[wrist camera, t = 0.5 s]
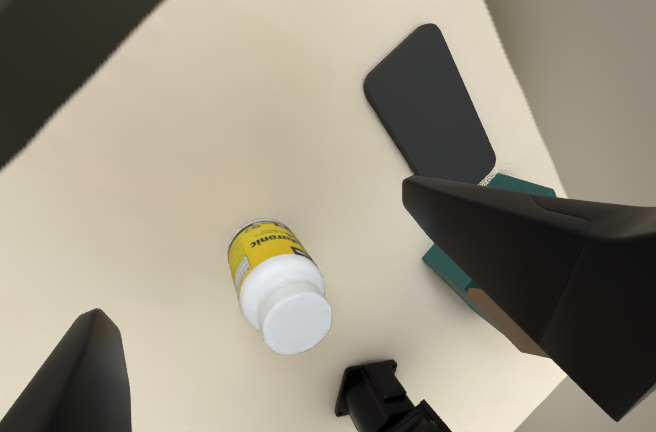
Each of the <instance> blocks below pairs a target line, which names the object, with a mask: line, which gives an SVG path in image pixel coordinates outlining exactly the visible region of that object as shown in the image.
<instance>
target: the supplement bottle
mask: <svg viewBox="0 0 656 432" xmlns="http://www.w3.org/2000/svg"><path fill="white" fill-rule="evenodd" d="M228 263H229V266H230V270H231V274H232V278H233V281H234V285H235V289H236V292H237V296H238V300H239V304H240V308H241V310H242V313H243V315H244V317H245V319H246V321H247V322H248V323H249V324H250V325H251V326H252V327H253V328H255V329H256V330H258V331H260V332H261V333H262V336H263V339H264V341H265V343H266V344H267V346H268V347H269V348H270V349H271V350H273V351H274V352H277V353H279V354H284V355H293V354H298V353H302V352H304V351H307V350H309V349H311V348H312V347H314V346H315V345H317V344H318V343H319V342H320V341H321V340H322V339H323V338H324V337H325V335H326V334H327V332H328V330H329V328H330V326H331V323H332V309H331V306H330V304H329V303H328V301H327V300H326V298H325V281H324V278H323V275H322V273H321V271H320V270H319V268H318V267H317V265H316V264H315V263H314V261H313V260H312V258H311V257H310V256H309V255H308V253H307V252H306V250H305V249H304V248H303V246H302V245H301V244H300V242H299V241H298V240H297V238H296V237H295V236H294V234H293V233H292V232H291V231H290V229H289V228H288V227H286V226H285V225H284V224H282V223H280V222H278V221H276V220H272V219H259V220H254V221H251V222H249V223H247V224H245V225H244V226H242V227H241V228H240V229H239V230H238V231H237V232H236V233H235V234H234V236H233V237H232V239H231V241H230V243H229V247H228Z"/></svg>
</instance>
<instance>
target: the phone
mask: <svg viewBox="0 0 656 432" xmlns="http://www.w3.org/2000/svg"><path fill="white" fill-rule="evenodd" d="M364 90H365V94H366V96H367V98H368V99H369V101H370V103H371V104H372V106H373V107H374V109H375V111H376V112H377V114H378V115H379V117H380V119H381V120H382V122H383V123H384V125H385V126H386V128H387V130H388V131H389V133H390V134H391V136H392V137H393V139H394V141H395V142H396V144H397V145H398V147H399V148H400V150H401V152H402V153H403V155H404V156H405V158H406V160H407V161H408V163H409V164H410V166H411V167H412V169H413V171H414V172H415V174H416V175H418V176H424V177H430V178H437V179H443V180H449V181H456V182H462V183H468V184H475V185H478V184H479V183H480V182H481V181H482V180H483V179H484V178H485V177H486V176H487V175H488V174H489V173H490V172H491V171H492V169H493V168H494V166H495V163H496V156H495V153H494V151H493V148H492V146H491V144H490V142H489V139H488V137H487V135H486V133H485V130H484V128H483V126H482V123H481V121H480V119H479V117H478V114H477V112H476V110H475V108H474V105H473V103H472V101H471V98H470V96H469V94H468V92H467V89H466V87H465V85H464V83H463V80H462V78H461V76H460V73H459V71H458V69H457V67H456V64H455V62H454V60H453V58H452V55H451V53H450V51H449V48H448V46H447V44H446V42H445V39H444V37H443V35H442V33H441V31H440V29H439V28H438V27H437V26H436V25H435V24H432V23H430V24H425V25H422V26H420V27H418V28H417V29H416V30H415V31H414V32H413V33H412V34H410V35H409V36H408V37H407V38H406V39H405V40H404V41H403V42H402V43H401V44H400V45H399V46H398V47H397V48H395V49H394V50H393V51H392V52H391V53H390V54H389V55H388V56H387V57H386V58H385V59H384V60H383V61H382V62H381V63H380V64H378V65H377V66H376V67H375V68H374V69H373V70H372V71H371V72H370V73H369V74H368V76H367V78H366V80H365V83H364Z"/></svg>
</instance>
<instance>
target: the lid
mask: <svg viewBox="0 0 656 432" xmlns="http://www.w3.org/2000/svg"><path fill="white" fill-rule="evenodd" d="M467 297H468V298H469V299H470V300H471V301H472V302H473V303H474V304H475V305H476V306H477V307H478V308H479V309H480V310H481V311H482V312H483V313H484V314H485V315H486V316H487V317H488V318H489V320H490V321H491V322H492V323H493V324H494V325H495V326H496V327H497V328H498V329H499V330H500V331H501V332H502V333H503V334H504V335H505V336H506V337H507V338H508V339H509V340H510V341H511V342H512V343H513V344H514V345H515V346H516V347H517V349H518V350H519V351H520V352H523V353H528V354H533V355H537V356H542V357H546V358H550V357H549V356H548V355H547V354H546V353H545V352H544V351H543V350H542V349H541V348H540V347H539V345H537V344H536V343H535V342H534V341H533V340H532V339H531V338H530V337H529V336H528V335H527V334H526V333H525V332H524V331H523V330H522V329H521V328H520V327H519V326H518V325H517V324H516V323H515V322H514V321H513V320H512V319H511V318H510V317H509V316H508V315H507V314H506V313H505V312H504V311H503V310H502V309H501V308H500V307H499V306H498V305H497V304H496V303H495V302H494V301H493V300H491V299H490V298H489V297H488V296H487V295H486V294H485V293H484V292H483V291H482V290H481V289H476V288H469V289H468V293H467Z"/></svg>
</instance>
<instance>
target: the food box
mask: <svg viewBox="0 0 656 432" xmlns="http://www.w3.org/2000/svg"><path fill="white" fill-rule="evenodd" d="M487 187H493V188H500V189H506V190H512V191H519V192H525V193H529V194H531V193H532V194H538V195H544V196H551V197H557V196H556V195H555V192H554V190H553V189H551V188H547V187H544V186H541V185H537V184H534V183H530V182H527V181H524V180H520V179H517V178H513V177H510V176H507V175H503V174H500V173H498V174H497V175H496V176H495V177H494V179H493V180H492V181H491V182H490V183H489V184H488V185H487ZM422 259H423V260H424V261H425V262H426V263H427V264H428V265H429V266H430V267H431V268H432V269H433V270H434V271H435V272H436V273H437V274H438V275H439V276H440V277H441V278H442V279H443V280H444V281H445V282H446V283H447V284H448V285H449V286H450V287H451V288H452V289H453V290H454V291H455V292H456V293H457V294H458V295H459V296H460V297H461V298H462V299H463V300H464V301H465V302H466V303H467V304H468V305H469V306H470V307H471V308H472V309H473V310H474V311H475V312H476V313H477V314H478V315H479V316H481V317H482V318H483V319H485V320H486V321H487V322H488V323H490V324H491V325H492V326H493V327H495V328H496V329H497V330H499V329H498V328H497V327H496V326H495V325H494V324H493V323H492V322H491V321H490V320H489V318H488V317H487V316H486V315H485V314H484V313H483V312H482V311H481V310H480V309H479V308H478V307H477V306H476V305H475V304H474V303H473V302H472V301H471V300H470V299H469V298H468V297H467V293H468V289H469V288H476V289H480V288H479V287H478V286H477V285H476V284H475V283H474V282H473V281H472V280H471V279H470V278H469V277H468V276H467V275H466V274H465V273H464V272H463V271H462V270H461V269H460V268H459V267H458V266H457V265H456V264H455V263H454V262H453V261H452V260H451V259H450V258H449V257H448V256H447V255H446V254H445V253H444V252H443V251H442V250H441V249H440V248H439V247H438V246H437V245H436V244H434V245H433V247H432V248H431V249H430V250H429V251H428V252H427V253H426V254H425V256H424V257H423V258H422ZM499 331H500V330H499ZM500 332H501V331H500ZM501 333H502V332H501ZM502 334H503V333H502Z"/></svg>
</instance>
